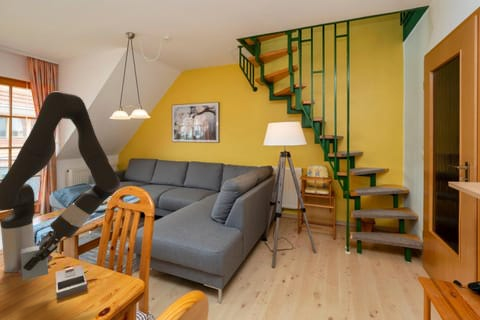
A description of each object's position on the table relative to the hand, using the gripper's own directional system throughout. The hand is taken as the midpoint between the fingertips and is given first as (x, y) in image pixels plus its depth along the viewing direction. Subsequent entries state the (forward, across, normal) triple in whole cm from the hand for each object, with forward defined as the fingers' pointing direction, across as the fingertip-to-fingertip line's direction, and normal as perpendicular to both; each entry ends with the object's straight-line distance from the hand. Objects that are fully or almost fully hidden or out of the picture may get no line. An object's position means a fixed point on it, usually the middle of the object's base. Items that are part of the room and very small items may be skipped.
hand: (27, 265), depth 75 cm
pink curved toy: (+8, -22, +9) cm, 25 cm away
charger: (+1, 0, +4) cm, 4 cm away
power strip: (+1, -1, +16) cm, 16 cm away
